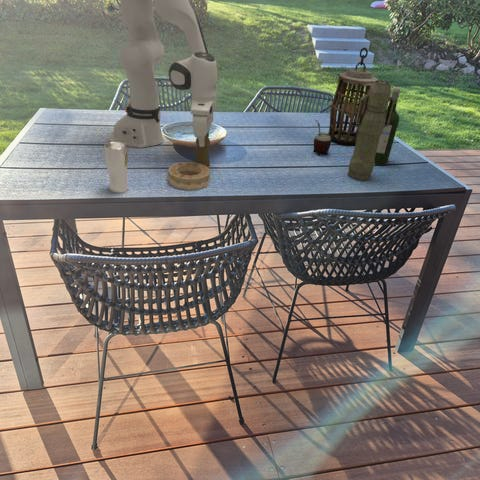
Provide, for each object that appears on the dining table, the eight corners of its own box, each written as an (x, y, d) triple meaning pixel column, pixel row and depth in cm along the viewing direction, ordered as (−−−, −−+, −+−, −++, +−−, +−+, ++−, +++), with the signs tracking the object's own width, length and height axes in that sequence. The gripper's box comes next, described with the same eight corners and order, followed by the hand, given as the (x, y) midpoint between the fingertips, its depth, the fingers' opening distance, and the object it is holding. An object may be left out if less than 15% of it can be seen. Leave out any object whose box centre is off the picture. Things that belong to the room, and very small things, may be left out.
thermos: (340, 171, 168) (360, 78, 149) (368, 171, 170) (391, 79, 151) (348, 181, 161) (371, 84, 142) (377, 181, 163) (403, 86, 144)
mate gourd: (330, 152, 185) (337, 118, 177) (325, 158, 179) (332, 122, 171) (313, 148, 187) (319, 114, 179) (308, 154, 181) (314, 119, 173)
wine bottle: (387, 160, 182) (407, 88, 166) (386, 167, 175) (407, 92, 159) (368, 157, 184) (386, 84, 167) (366, 163, 177) (385, 89, 161)
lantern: (319, 142, 195) (337, 46, 174) (328, 130, 211) (346, 41, 189) (362, 150, 190) (386, 53, 168) (368, 138, 205) (390, 47, 184)
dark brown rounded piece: (207, 169, 160) (208, 140, 154) (192, 166, 161) (192, 138, 155) (211, 163, 165) (213, 135, 159) (196, 160, 166) (197, 133, 160)
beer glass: (109, 183, 144) (105, 140, 136) (131, 184, 145) (128, 141, 137) (106, 193, 138) (101, 149, 130) (128, 194, 139) (125, 150, 131)
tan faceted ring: (164, 187, 145) (164, 176, 143) (174, 170, 157) (173, 160, 155) (205, 191, 144) (206, 181, 142) (212, 175, 156) (212, 164, 154)
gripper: (200, 95, 159) (200, 131, 167) (189, 110, 142) (190, 150, 149) (217, 96, 159) (216, 133, 166) (208, 112, 142) (208, 152, 149)
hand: (204, 141), depth 158 cm, fingers open, 8 cm apart
